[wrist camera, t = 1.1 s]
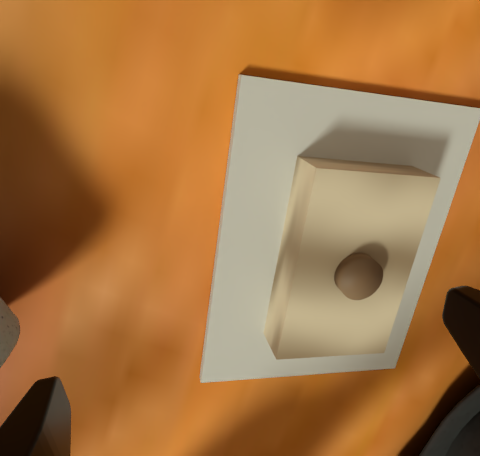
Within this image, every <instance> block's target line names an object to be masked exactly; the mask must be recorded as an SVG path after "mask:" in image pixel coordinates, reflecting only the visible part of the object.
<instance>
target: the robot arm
mask: <svg viewBox="0 0 480 456" xmlns="http://www.w3.org/2000/svg"><path fill="white" fill-rule="evenodd" d="M442 317H443V322H444V324H445V326H446V328H447V329H448V331H449V332H450V334H451V335H452V337H453V339H454V340H455V342H456V343H457V345H458V346H459V348H460V349H461V351H462V353H463V354H464V356H465V357H466V359H467V360H468V362H469V364H470V365H471V367H472V368H473V370H474V371H475V373H476V374H477V376H478V377H479V379H480V290H477V289H474V288H472V287H469V286H460V287H455V288H451V289H449V291H448V292H447V295H446V300H445V305H444V309H443V314H442ZM70 445H71V408H70V403H69V400H68V398H67V395H66V392H65V390H64V387H63V385H62V382H61V380H60V379H59V377H56V376H54V377H50V378H45V379H41V380H38V381H36V382H35V383H34V384H33V386H32V387H31V388H30V389H29V391H28V392H27V393H26V395H25V396H24V397H23V398H22V400H21V401H20V402H19V404H18V405H17V406H16V407H15V409H14V410H13V411H12V413H11V414H10V415H9V416H8V418H7V419H6V420H5V422H4V423H3V424H2V425H1V427H0V456H70Z"/></svg>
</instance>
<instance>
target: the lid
mask: <svg viewBox="0 0 480 456" xmlns="http://www.w3.org/2000/svg"><path fill="white" fill-rule="evenodd" d="M440 179H441V178H440V177H437V176H435V175H433V174H430V173H428V172H426V171H423V170H421V169H418V168H416V167H414V166H408V165H396V164H385V163H373V162H362V161H350V160H339V159H327V158H316V157H304V156H297V160H296V165H295V171H294V176H293V181H292V186H291V192H290V197H289V202H288V207H287V213H286V218H285V223H284V228H283V234H282V239H281V244H280V249H279V254H278V260H277V265H276V270H275V275H274V281H273V286H272V291H271V296H270V302H269V307H268V312H267V317H266V323H265V328H264V333H263V334H264V336H265V338H266V340H267V342H268V344H269V346H270V348H271V350H272V352H273V354H274V356H275V358H276V360H279V359H295V358H311V357H328V356H344V355H360V354H376V353H384V352H385V349H386V346H387V343H388V340H389V337H390V333H391V330H392V327H393V324H394V321H395V318H396V315H397V312H398V309H399V306H400V303H401V300H402V296H403V293H404V290H405V287H406V284H407V281H408V278H409V275H410V272H411V269H412V266H413V262H414V259H415V256H416V253H417V250H418V247H419V244H420V241H421V238H422V235H423V232H424V229H425V225H426V222H427V219H428V216H429V213H430V210H431V207H432V204H433V201H434V198H435V195H436V191H437V188H438V185H439V182H440Z"/></svg>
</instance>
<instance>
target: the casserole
mask: <svg viewBox="0 0 480 456" xmlns="http://www.w3.org/2000/svg"><path fill="white" fill-rule="evenodd" d="M419 456H480V384H479V385H478V386H477V387H475V388H474V389H473V390H472V391H471V392H470V393H468V394H467V395H466V396H465V397H464V398H463V399H462V400H460V401H459V402H458V403H457V404H456V406H455V407H454V408H453V409H452V410H451V411H450V412H449V413H448V414H447V415H446V417H445V418H444V419H443V420H442V422H441V423H440V425H439V426H438V428H437V429H436V430H435V432H434V433H433V435H432V436H431V438H430V439H429V441H428V442H427V444H426V445H425V447H424V448H423V450H422V452H421V453H420V455H419Z"/></svg>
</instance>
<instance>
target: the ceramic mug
mask: <svg viewBox="0 0 480 456" xmlns="http://www.w3.org/2000/svg"><path fill="white" fill-rule="evenodd" d="M19 334H20V325H19V321H18V318H17V317H16V316H15V314H14V313H13V312H12V311H11V309H10V308H9V307H8V306H7V305H6V303H5V302H4V301H3V300H2V298H1V297H0V368H1V366H2V365H3V364H4V362H5V361H6V359H7V358H8V356H9V355H10V353H11V352H12V350H13V348H14V347H15V345H16V343H17V341H18V338H19Z"/></svg>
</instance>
